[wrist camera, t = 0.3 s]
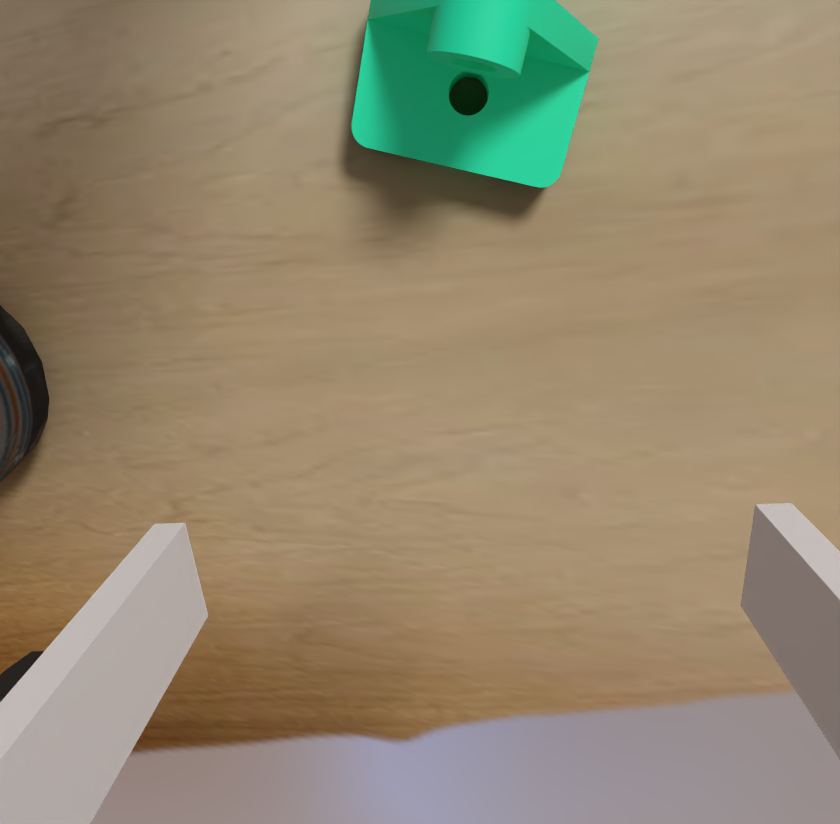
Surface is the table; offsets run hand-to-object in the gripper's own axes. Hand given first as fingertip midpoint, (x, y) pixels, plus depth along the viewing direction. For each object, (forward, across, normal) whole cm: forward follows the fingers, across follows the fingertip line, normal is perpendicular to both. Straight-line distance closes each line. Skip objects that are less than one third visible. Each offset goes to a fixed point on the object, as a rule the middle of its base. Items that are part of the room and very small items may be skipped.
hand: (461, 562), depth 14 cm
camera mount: (+28, +1, +12) cm, 31 cm away
